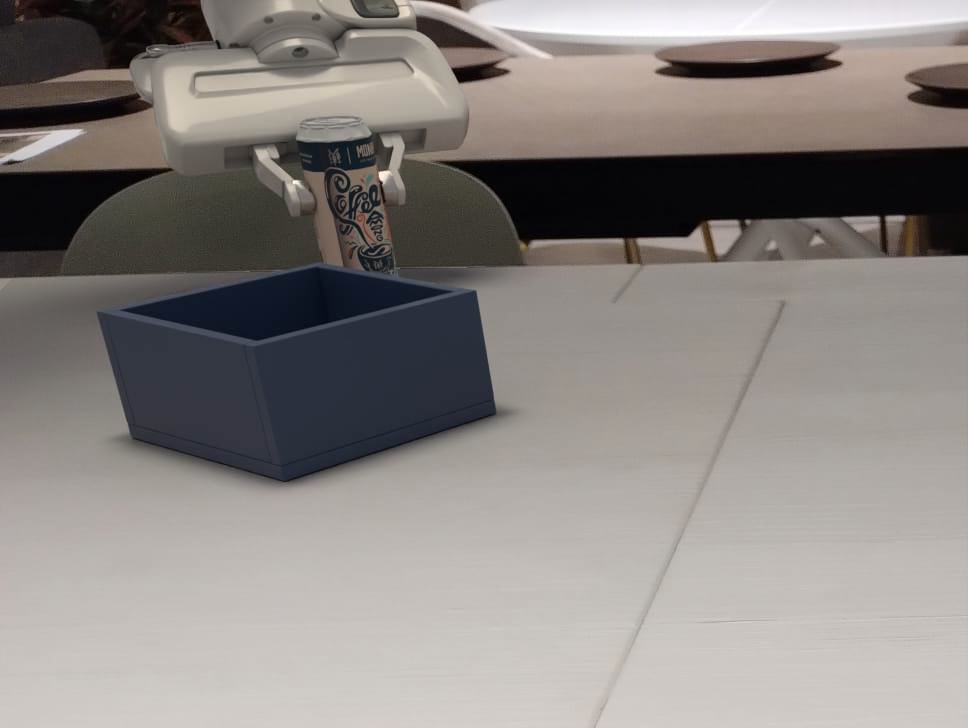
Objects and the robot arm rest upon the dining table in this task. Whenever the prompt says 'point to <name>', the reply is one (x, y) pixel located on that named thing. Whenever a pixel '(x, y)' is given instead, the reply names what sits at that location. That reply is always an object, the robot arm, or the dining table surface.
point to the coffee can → (346, 193)
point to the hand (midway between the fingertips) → (350, 205)
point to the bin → (299, 367)
